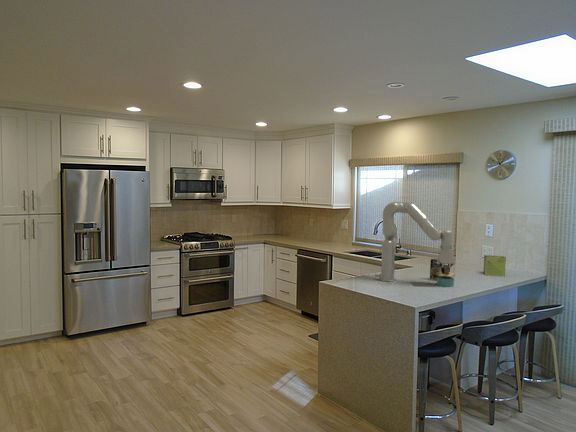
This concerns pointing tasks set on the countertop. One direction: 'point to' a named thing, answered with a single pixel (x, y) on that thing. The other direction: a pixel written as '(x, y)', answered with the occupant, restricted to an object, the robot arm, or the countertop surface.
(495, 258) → the protein box
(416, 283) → the mat
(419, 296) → the countertop surface
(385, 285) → the countertop surface
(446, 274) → the lid
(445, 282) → the bowl
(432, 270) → the coffee box
